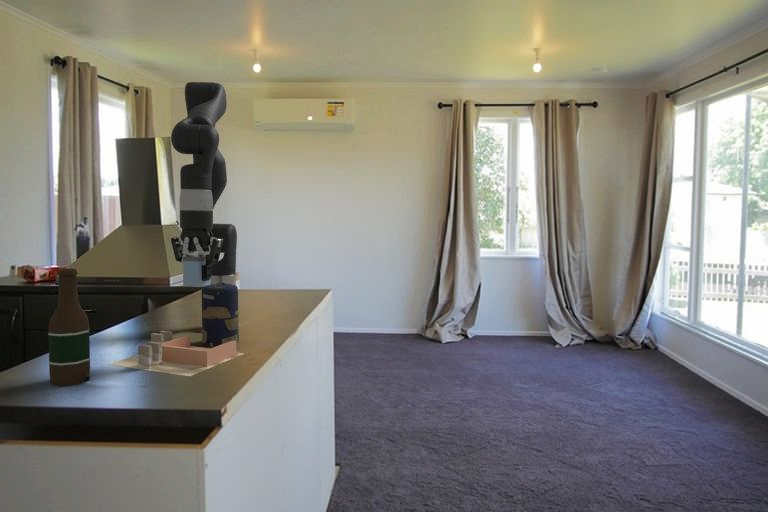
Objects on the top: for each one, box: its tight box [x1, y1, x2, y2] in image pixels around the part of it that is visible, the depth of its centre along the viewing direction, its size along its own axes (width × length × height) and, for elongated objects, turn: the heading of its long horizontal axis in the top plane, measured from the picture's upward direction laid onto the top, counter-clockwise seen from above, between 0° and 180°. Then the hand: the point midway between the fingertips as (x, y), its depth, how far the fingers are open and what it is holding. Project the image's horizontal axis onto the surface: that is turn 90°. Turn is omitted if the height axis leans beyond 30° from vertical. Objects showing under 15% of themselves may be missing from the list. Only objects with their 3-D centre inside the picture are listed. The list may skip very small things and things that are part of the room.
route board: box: [107, 330, 245, 377], centre depth 123 cm, size 20×23×6 cm
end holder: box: [162, 334, 240, 367], centre depth 124 cm, size 12×15×4 cm
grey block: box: [182, 255, 211, 288], centre depth 123 cm, size 4×4×7 cm
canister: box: [201, 282, 240, 348], centre depth 138 cm, size 10×10×18 cm
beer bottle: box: [47, 268, 91, 387], centre depth 108 cm, size 8×8×24 cm
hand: (197, 279), depth 123 cm, fingers closed on grey block, 4 cm apart
